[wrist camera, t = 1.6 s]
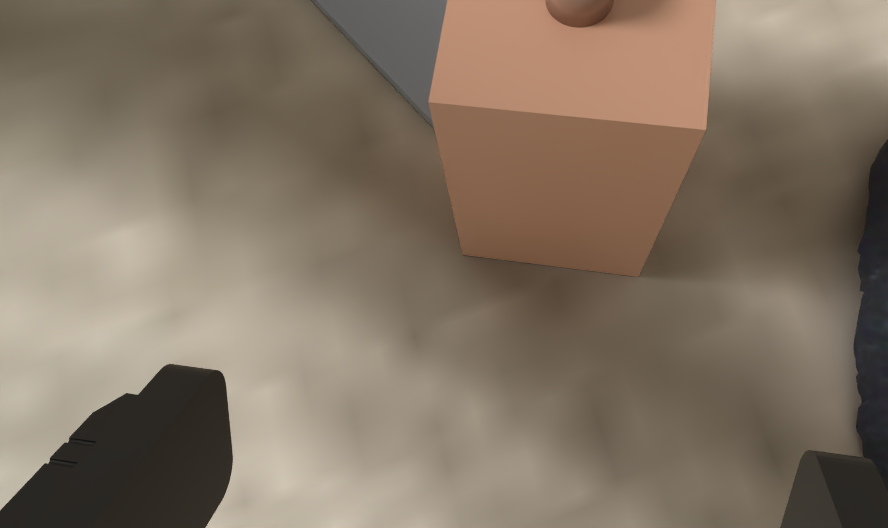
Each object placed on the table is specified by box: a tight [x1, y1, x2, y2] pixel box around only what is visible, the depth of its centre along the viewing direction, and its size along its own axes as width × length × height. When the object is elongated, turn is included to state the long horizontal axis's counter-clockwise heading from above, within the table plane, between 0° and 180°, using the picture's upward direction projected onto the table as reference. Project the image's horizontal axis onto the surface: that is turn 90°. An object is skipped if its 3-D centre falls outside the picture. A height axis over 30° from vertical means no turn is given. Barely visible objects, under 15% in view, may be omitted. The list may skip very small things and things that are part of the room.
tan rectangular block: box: [428, 0, 716, 277], centre depth 24 cm, size 6×6×12 cm
